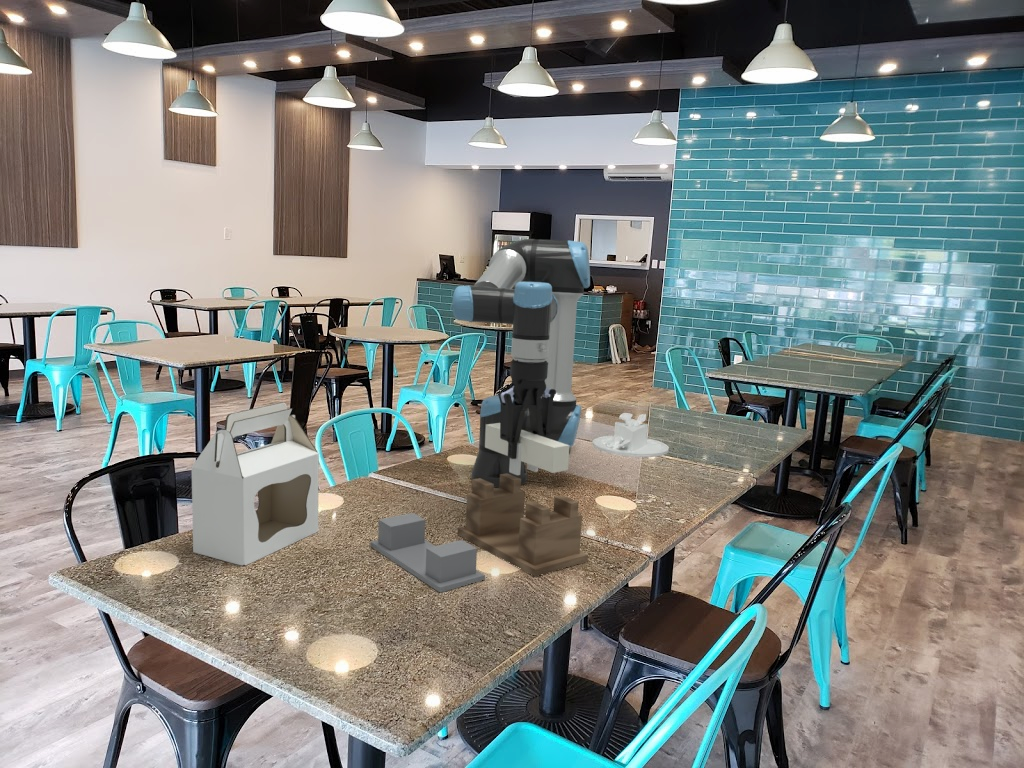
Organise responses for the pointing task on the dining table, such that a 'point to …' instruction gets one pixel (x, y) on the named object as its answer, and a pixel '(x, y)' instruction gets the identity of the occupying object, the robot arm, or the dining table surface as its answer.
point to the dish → (631, 439)
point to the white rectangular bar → (531, 449)
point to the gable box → (255, 488)
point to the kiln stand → (426, 553)
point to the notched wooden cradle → (523, 527)
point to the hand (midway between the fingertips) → (523, 471)
